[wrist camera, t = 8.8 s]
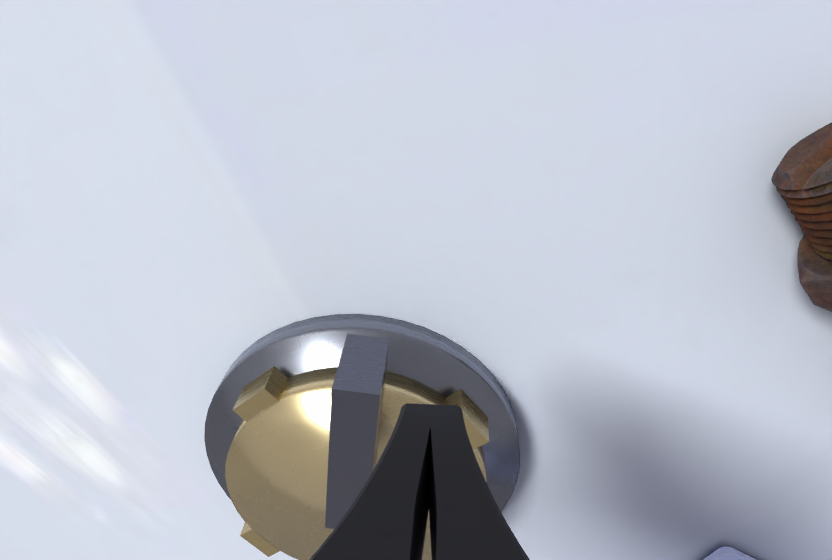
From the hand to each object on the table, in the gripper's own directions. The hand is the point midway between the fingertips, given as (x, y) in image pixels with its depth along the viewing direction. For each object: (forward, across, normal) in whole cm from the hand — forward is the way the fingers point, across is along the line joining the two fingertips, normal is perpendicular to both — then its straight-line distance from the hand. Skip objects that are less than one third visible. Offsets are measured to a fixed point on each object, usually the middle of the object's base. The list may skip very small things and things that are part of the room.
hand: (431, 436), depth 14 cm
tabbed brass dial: (+8, +3, +10) cm, 13 cm away
